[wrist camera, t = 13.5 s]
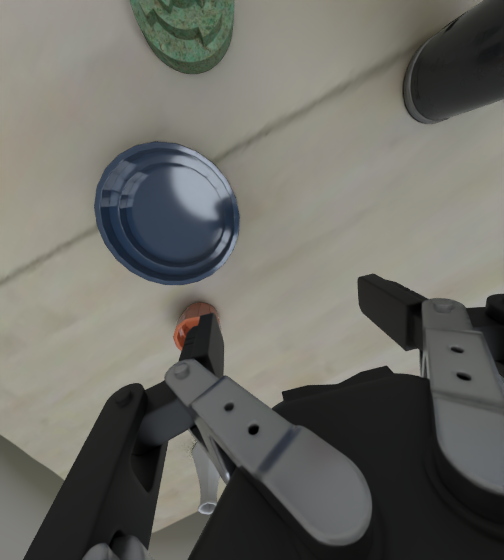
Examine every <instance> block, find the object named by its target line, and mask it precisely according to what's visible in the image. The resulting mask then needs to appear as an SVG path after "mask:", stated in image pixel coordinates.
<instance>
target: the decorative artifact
mask: <svg viewBox="0 0 504 560" xmlns="http://www.w3.org/2000/svg"><path fill="white" fill-rule="evenodd" d="M130 2H131V5H132V9H133V12H134V14H135V17H136V19H137V21H138V24H139V26H140V28H141V30H142V32H143V34H144V36H145V38H146V40H147V42H148V44H149V45H150V47H151V48H152V50H153V51H154V52H155V54H156V55H157V56H158V57H159V58H160V59H161V60H162V61H163V62H164V63H166V64H167V65H168V66H170V67H171V68H173V69H175V70H177V71H180V72H183V73H188V74H198V73H202V72H205V71H208V70H210V69H211V68H213V67H214V66H215V65H217V64H218V63H219V62H220V60H221V59H222V58H223V56H224V55H225V53H226V51H227V49H228V47H229V44H230V40H231V36H232V30H233V17H234V0H130Z"/></svg>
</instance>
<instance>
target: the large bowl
mask: <svg viewBox="0 0 504 560" xmlns="http://www.w3.org/2000/svg"><path fill="white" fill-rule="evenodd" d="M94 206H95V207H94V208H95V215H96V222H97V227H98V229H99V231H100V234H101V236H102V239H103V241H104V243H105V245H106V246H107V248H108V249H109V250H110V252H111V253H112V254H113V256H114V257H115V258H116V259H117V261H119V262H120V263H121V264H122V265H123V266H125V267H126V268H127V269H128V270H129V271H131V272H132V273H134V274H136V275H138V276H140V277H142V278H144V279H146V280H148V281H152V282H156V283H160V284H164V285H185V284H189V283H194V282H198V281H200V280H202V279H204V278H206V277H208V276H210V275H212V274H213V273H214V272H216V271H217V270H218V269H219V268H220V267H221V266H222V265H223V264H224V263H225V262H226V260H227V259H228V257H229V256H230V254H231V253H232V251H233V249H234V247H235V243H236V240H237V237H238V234H239V218H240V217H239V211H238V206H237V201H236V197H235V195H234V193H233V191H232V189H231V186H230V184H229V182H228V180H227V179H226V178H225V176H224V175H223V174H222V173H221V172H220V170H219V169H218V168H217V167H216V165H215V164H214V163H212V162H211V161H209V160H208V159H207V158H205V157H204V156H203V155H201V154H200V153H199V152H197V151H195V150H192V149H190V148H187V147H185V146H182V145H180V144H176V143H167V142H158V141H157V142H151V143H145V144H140V145H137V146H134V147H132V148H130V149H128V150H126V151H125V152H123V153H121V154H119V155H118V156H117V157H116V158H115V159H114V160H113V161H112V162H111V163H110V164H109V165H108V166H107V168H106V169H105V170H104V173H103V175H102V177H101V179H100V181H99V183H98V185H97V190H96V197H95V205H94Z"/></svg>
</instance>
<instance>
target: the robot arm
mask: <svg viewBox="0 0 504 560" xmlns="http://www.w3.org/2000/svg"><path fill="white" fill-rule="evenodd" d="M458 18H459V17H458ZM458 18H457V20H456V19H455V20H456V21H455V20H454V21H455V22H453V21H452V22H453V23H452V22H451V23H452V24H451V25H449V24H450V23H449V24H448V25H449V26H448V27H447V28H445V29H444V30H443V31H441V32H439V33H437V34H436V35H434V36H433V37H431V38H430V39H429V40H427V41H426V42H425V43H424V44H423V45H422V46H421V47H420V48H419V49H418V50H417V52H416V53H415V55H414V56H413V58H412V60H411V62H410V64H409V66H408V69H407V72H406V76H405V81H404V99H405V103H406V106H407V108H408V111H409V112H410V114H411V115H412V116H413V117H414V118H415V119H416V120H418V121H420V122H422V123H427V124H432V123H437V122H440V121H443V120H446V119H448V118H450V117H453V116H455V115H458V114H461V113H465V112H468V111H471V110H474V109H476V108H479V107H482V106H485V105H488V104H491V103H494V102H497V101H500V100H503V99H504V0H483V1H482V2H480V3H479V4H478V5H476V6H475V7H474V8H472V9H471V10H470V11H467V13H464V14H463V16H462V15H461V16H460V18H459V19H458ZM446 26H447V25H446ZM446 26H445V27H446ZM442 29H443V28H442ZM358 299H359V306H360V309H361V311H362V312H363V314H364V315H366V316H367V317H368V318H369V319H370V320H371V321H372V322H374V323H375V324H376V325H377V326H378V327H379V328H380V329H381V330H383V331H384V332H385V333H386V334H387V335H388V336H389V337H391V338H392V339H393V340H394V341H395V342H396V343H397V344H398V345H400V346H401V347H402V348H403V349H404V350H405V351H409V350H413V349H417V348H418V349H419V364H420V376H415V375H409V374H398V373H393V372H392V371H391V370H390V369H389V368H388V366H383V367H379V368H375V369H371V370H367V371H363V372H360V373H358V374H356V375H354V376H352V377H351V378H349V379H347V380H345V381H343V382H341V383H339V384H333V385H307V386H303V387H299V388H295V389H291V390H287V391H283V392H282V395H283V400H284V401H282V402H280V403H279V404H277V405H276V406H274V407H273V408H272V409H271V408H270V407H268V406H267V405H266V404H264V403H263V402H262V401H260V400H259V399H258V398H256V397H255V396H254V395H252V394H251V393H250V392H248V391H247V390H245V389H244V388H243V387H241V386H240V385H239V384H237V383H236V382H235V381H233V380H232V379H231V378H229V377H228V376H223V371H224V342H223V337H222V334H221V331H220V328H219V325H218V322H217V318H216V315H215V313H214V312H213V313H209V314H205V315H201V316H200V318H199V323H198V325H197V326H193V327H192V328H191V329H190V330H189V331H188V333H187V335H186V338H185V342H184V346H183V348H182V352H181V355H180V358H179V362H177V363H176V364H174V365H173V366H172V367H171V368H169V370H168V371H167V372H166V374H165V380H164V381H163V382H161V383H159V384H157V385H155V386H153V387H151V388H149V389H146V390H144V388H143V386H142V385H141V384H139V383H133V384H129V385H127V386H124V387H123V388H121V389H119V390H118V391H116V392H115V393H114V394H113V395H112V396H111V397H110V398H109V399H108V400H107V402H106V403H105V405H104V407H103V409H102V411H101V413H100V415H99V417H98V419H97V420H96V422H95V424H94V426H93V428H92V430H91V432H90V434H89V436H88V437H87V439H86V441H85V443H84V445H83V447H82V449H81V451H80V453H79V454H78V456H77V458H76V460H75V462H74V464H73V466H72V468H71V470H70V472H69V473H68V475H67V477H66V479H65V481H64V483H63V485H62V487H61V489H60V491H59V492H58V494H57V496H56V498H55V500H54V502H53V504H52V506H51V508H50V510H49V511H48V513H47V515H46V517H45V519H44V521H43V523H42V525H41V527H40V528H39V530H38V532H37V534H36V536H35V538H34V540H33V542H32V543H31V545H30V547H29V549H28V551H27V553H26V555H25V557H24V559H23V560H154V559H153V557H152V556H151V555H150V553H149V552H148V547H149V542H150V536H151V531H152V526H153V520H154V515H155V510H156V504H157V499H158V494H159V488H160V483H161V478H162V472H163V467H164V462H165V456H166V451H167V446H168V441H169V440H170V439H172V438H174V437H176V436H177V435H179V434H181V433H183V432H184V431H186V430H188V431H189V432H190V433H191V435H192V436H193V437H194V439H195V440H196V441H197V443H198V444H199V445H200V447H201V448H202V449H203V451H204V452H205V453H206V455H207V456H208V457H209V459H210V460H211V461H212V463H213V464H214V466H215V468H216V470H217V471H218V473H219V475H220V476H221V478H222V479H223V481H224V482H225V484H226V485H227V486H226V488H225V489H224V491H223V493H222V495H221V497H220V499H219V501H218V503H217V505H216V507H215V508H214V510H213V512H212V515H211V516H210V518H209V520H208V522H207V524H206V526H205V528H204V530H203V531H202V533H201V535H200V537H199V539H198V541H197V543H196V545H195V547H194V548H193V550H192V552H191V554H190V556H189V558H188V560H504V385H503V382H502V380H501V377H500V375H501V376H503V377H504V294H495V295H491V296H489V297H488V298H487V301H486V307H476V308H466V307H465V306H464V305H463V304H461V303H459V302H457V301H454V300H450V299H444V298H433V299H427V298H425V297H423V296H422V295H420V294H418V293H416V292H414V291H412V290H411V291H410V289H408V288H406V287H404V286H402V285H400V284H399V283H397V282H393V281H389V280H385V279H383V278H381V277H379V276H377V275H375V274H369V275H365V276H361V277H359V278H358ZM499 374H500V375H499Z"/></svg>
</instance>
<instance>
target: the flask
mask: <svg viewBox="0 0 504 560" xmlns="http://www.w3.org/2000/svg"><path fill="white" fill-rule="evenodd" d="M192 455H193V459H194V463H195V466H196V470H197V474H198V479H199V483H200V493H201V500H200V505H199V507H198V511H200V512H201V513H202V514H211V513H212V512H213V510H214V508H215V507H216V505H217V503H218V502H217V489H218V483H219V478H220V475H219V473H218V471H217V470H216V468H215V466H214V464H213V463H212V461H211V460H210V459H209V457H208V456H207V455H206V453H205V452H204V451H203V449H202V448H201V447H200V445H199V444H198V443H196V445H195V447H194V449H193V451H192Z"/></svg>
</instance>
